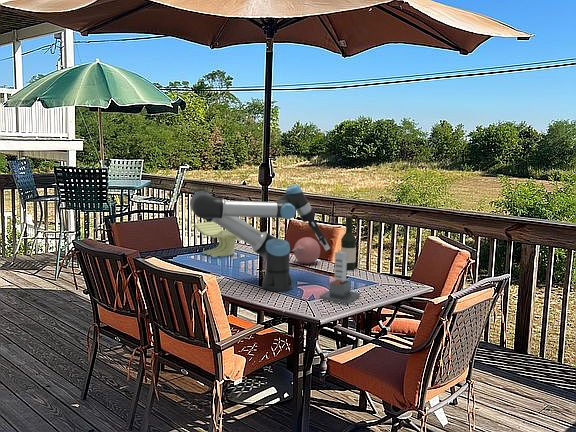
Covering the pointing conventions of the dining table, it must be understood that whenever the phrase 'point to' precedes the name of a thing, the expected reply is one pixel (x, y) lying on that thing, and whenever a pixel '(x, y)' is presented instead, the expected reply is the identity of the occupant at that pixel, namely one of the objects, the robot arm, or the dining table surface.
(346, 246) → the wine bottle
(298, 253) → the pink rounded ovoid
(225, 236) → the slatted curved stool
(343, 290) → the stand
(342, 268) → the column
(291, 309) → the dining table surface
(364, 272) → the dining table surface
